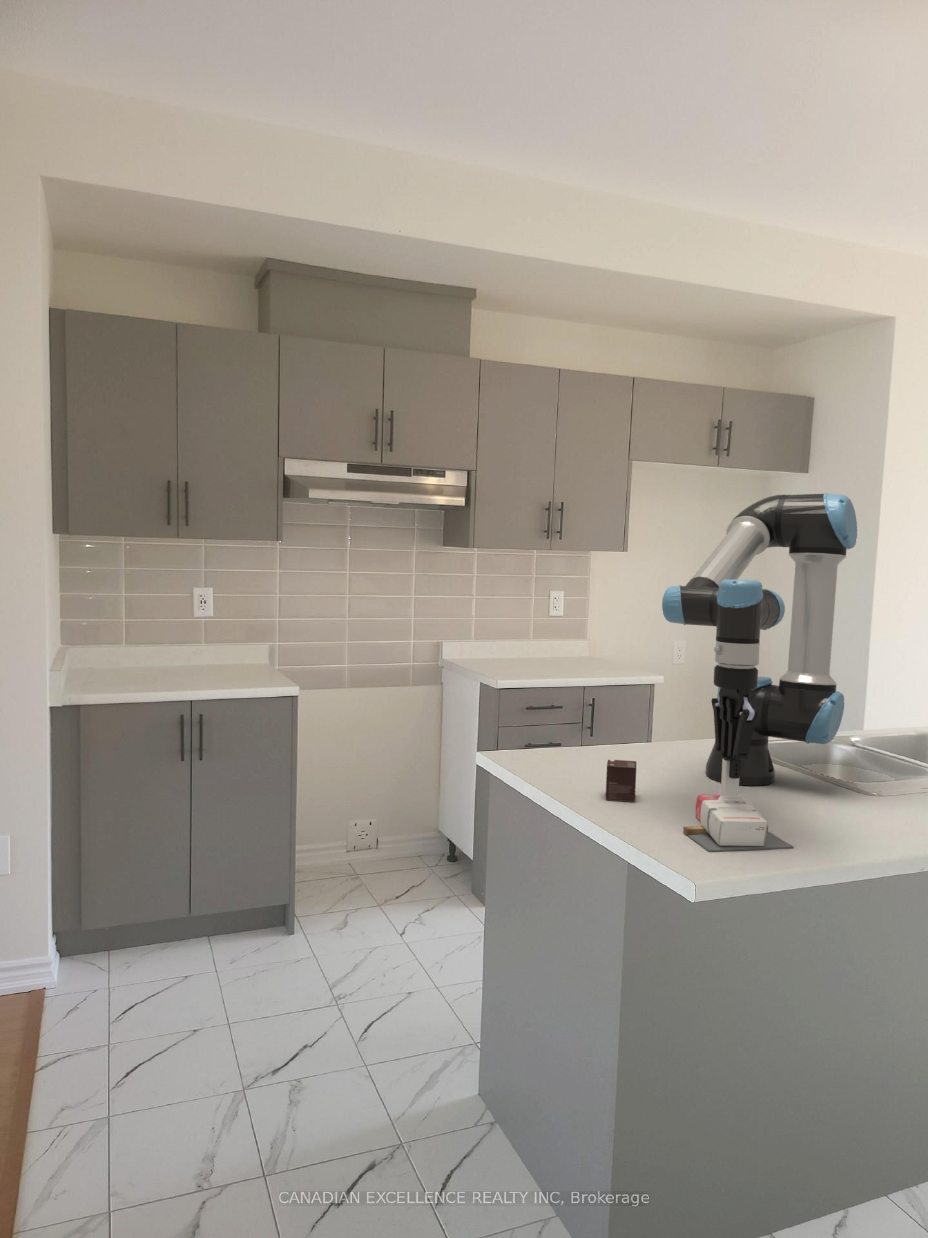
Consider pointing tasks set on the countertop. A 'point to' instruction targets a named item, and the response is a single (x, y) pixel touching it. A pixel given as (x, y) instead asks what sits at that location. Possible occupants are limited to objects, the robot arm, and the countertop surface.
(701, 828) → the batten
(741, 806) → the ink box
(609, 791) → the box
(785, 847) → the mat
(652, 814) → the countertop surface
